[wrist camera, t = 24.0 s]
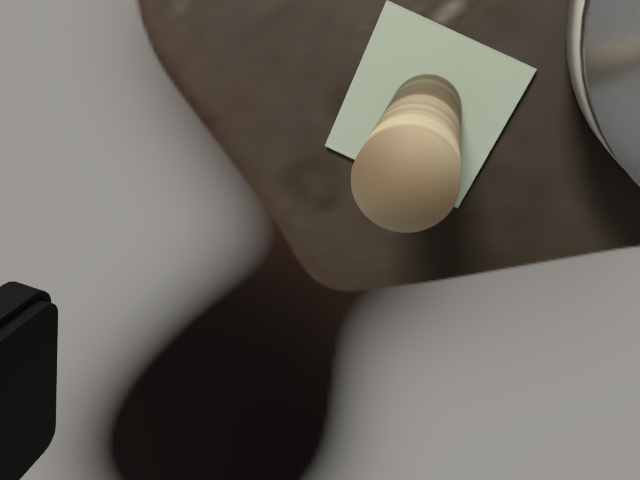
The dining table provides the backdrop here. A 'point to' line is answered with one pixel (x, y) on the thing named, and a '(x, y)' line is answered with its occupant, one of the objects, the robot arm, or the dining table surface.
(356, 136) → the mat
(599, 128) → the chuck collar
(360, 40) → the dining table surface
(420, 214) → the beige cylinder
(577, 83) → the chuck base
